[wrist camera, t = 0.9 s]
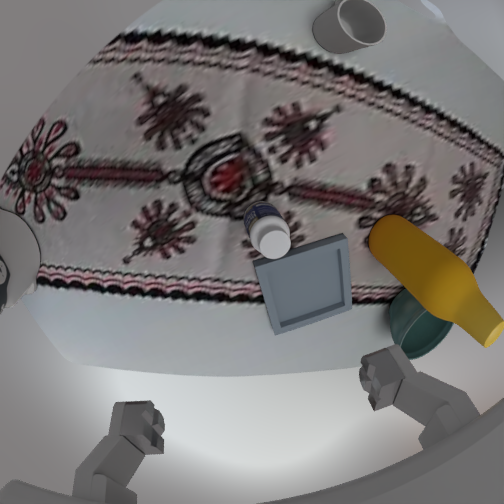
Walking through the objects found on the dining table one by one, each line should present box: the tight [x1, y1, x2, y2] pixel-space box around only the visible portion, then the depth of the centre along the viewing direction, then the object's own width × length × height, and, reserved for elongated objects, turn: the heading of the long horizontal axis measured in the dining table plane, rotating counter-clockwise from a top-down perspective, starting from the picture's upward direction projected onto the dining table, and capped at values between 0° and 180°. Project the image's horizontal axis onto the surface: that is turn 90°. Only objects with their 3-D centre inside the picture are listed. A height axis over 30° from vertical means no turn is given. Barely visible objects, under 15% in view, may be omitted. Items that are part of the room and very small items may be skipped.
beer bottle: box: [369, 215, 504, 348], centre depth 38 cm, size 9×9×29 cm
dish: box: [253, 233, 352, 335], centre depth 51 cm, size 16×16×2 cm
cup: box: [313, 0, 387, 54], centre depth 28 cm, size 7×10×9 cm
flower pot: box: [389, 289, 454, 360], centre depth 55 cm, size 16×16×11 cm
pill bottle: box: [244, 201, 291, 259], centre depth 40 cm, size 5×5×10 cm
